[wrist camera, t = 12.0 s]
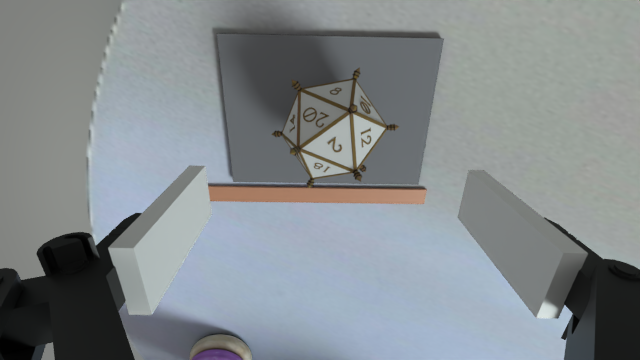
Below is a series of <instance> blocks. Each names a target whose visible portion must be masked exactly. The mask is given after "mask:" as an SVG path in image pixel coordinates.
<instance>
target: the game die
mask: <svg viewBox="0 0 640 360" xmlns="http://www.w3.org/2000/svg"><path fill="white" fill-rule="evenodd" d="M360 74H361V73H360V67H359V68H358V69H356V70H355V71H354V73H353V74H352V75H353V78H352V79H347V80H341V81H336V82H331V83H325V84H320V85H315V86H309V87H304V88H301V86H300V84H299V83H298V81H295V80H292V79H291V80H292V87H294V89H296V90H297V91H298V92H297V95H296V97H295V100H294V102H293V105H292V107H291V110H290V113H289V115H288V118H287V120H286V123H285V125H284V128H283V130H282V131H279V130H278V131H276V130H275V132H274V133H272V134H271V135H273V136H275V137H280V136H283V138H284V139H285V141H286V142H287V144H288V145H289V147H290V148H291V149H290V154H292V155H294V156H296V157H297V159H298V160H299V162H300V163H301V164H302V166H303V167H304V169H305V170H306V172H307V173H308V175H309V176H310V179H309V180H308V183H307V186H308V188H310V187H311V186H313V183H314V179H319V178H326V177H332V176H339V175H345V174H351V173H354V176H353V177H355V180H358V181H360V182H361V178H362V175H361V174H360V172H358V170H359V169H360V171H362V172H366V167H365V165H363V163H364V161H365V160H366V159H367V157H368V156H369V154H370V153H371V152H372V150H373V149H374V147H375V146H376V145H377V143H378V142H379V140H380V139H381V138H382V136H383V135H384V133H385V132H386V131H387V130H394V131H395V130H396V129H397V128H399V126H397V125H395V124H390V125H386V123H385V122H384V120H383V119H382V117H381V116H380V115H379V113H378V112H377V110H376V109H375V107H374V106H373V104H372V103H371V101H370V100H369V98H368V97H367V95H366V94H365V92H364V91H363V89H362V88H361V86H360V85H359V83H358V82H357V78H358V77H359V75H360Z"/></svg>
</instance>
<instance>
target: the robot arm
mask: <svg viewBox="0 0 640 360" xmlns="http://www.w3.org/2000/svg"><path fill="white" fill-rule="evenodd" d="M211 215H212V210H211V203H210V196H209V189H208V182H207V175H206V168H205V166H189V167H188V168H187V169H186V170H185V171H184V172H183V173H182V174H181V175H180V176H179V177H178V178H177V179H176V180H175V181H174V182H173V183H172V184H171V185H170V186H169V187H168V188H167V189H166V190H165V191H164V192H163V193H162V194H161V195H160V196H159V197H158V198H157V199H156V200H155V201H154V202H153V203H152V204H151V205H150V206H149V207H148V208H147V209H146V210H145V211H144V212H143V213H135V214H133V215H131V216H130V217H128V218H126V219H124V220H123V221H122V222H121V223H120V224H119V225H118V226H117V227H116V229H113V230H112V231H111V232H110V233H109V235H107V236H106V237H105V238H104V239H103V240H102V241H101V242H100V243H99V244H97V245H96V246H95V243H94V240H93V237H92V236H91V235H90V234H89V233H84V232H77V233H70V234H65V235H62V236H59V237H56V238H53V239H52V240H50V241H48V242H46V243H44V244H43V245H42V246H41V247H40V248H39V249H38V251H37V256H38V258H39V261H40V263H41V265H42V267H43V270H44V272H45V274H46V276H41V277H36V278H30V279H25V280H21V279H20V277H19V275H18V273H17V272H16V271H15V270H14V269H9V268H3V269H0V360H41V358H42V355H43V352H44V348H45V345H46V344H47V343H51V342H53V345H54V355H55V360H135V359H134V356H133V353H132V350H131V348H130V345H129V342H128V339H127V336H126V333H125V330H124V327H123V324H122V321H121V318H120V315H119V313H118V311H119V310H120V308H121V307H122V305H123V304H124V303H126V307H127V310H128V313H129V315H152V314H153V313H154V311H155V309H156V308H157V306H158V304H159V303H160V301H161V299H162V297H163V296H164V294H165V292H166V291H167V289H168V287H169V286H170V284H171V282H172V281H173V279H174V277H175V276H176V274H177V272H178V271H179V269H180V267H181V266H182V264H183V262H184V261H185V259H186V257H187V255H188V254H189V252H190V250H191V249H192V247H193V245H194V244H195V242H196V240H197V239H198V237H199V235H200V234H201V232H202V230H203V229H204V227H205V225H206V224H207V222H208V220H209V218H210V217H211ZM458 219H459V220H460V221H461V222H462V224H463V225H464V226H465V228H466V229H467V230H468V231H469V233H470V234H471V235H472V236H473V238H474V239H475V240H476V242H477V243H478V244H479V245H480V247H481V248H482V249H483V251H484V252H485V253H486V254H487V256H488V257H489V258H490V260H491V261H492V262H493V263H494V265H495V266H496V267H497V269H498V270H499V271H500V272H501V274H502V275H503V276H504V277H505V279H506V280H507V281H508V283H509V284H510V285H511V286H512V288H513V289H514V290H515V292H516V293H517V294H518V295H519V297H520V298H521V299H522V301H523V302H524V303H525V304H526V306H527V307H528V308H529V310H530V311H531V312H532V313H533V315H534V316H535V317H536V318H559V316H560V313H561V311H562V309H563V307H564V305H566V307H567V308H568V309H569V310H570V311H571V312H572V313H573V315H572V317H571V319H570V321H569V323H568V325H567V327H566V329H565V331H564V333H563V335H562V337H561V338H562V339H564V340H565V339H566V338H567V341H566V349H565V356H564V360H640V270H639V269H638V268H636V267H634V266H632V265H629V264H627V263H624V262H621V261H617V260H611V259H602V258H601V257H600V256H598V255H597V254H596V253H594V252H593V251H592V250H591V249H589V248H588V247H587V246H585V245H584V244H583V243H582V242H580V241H579V240H576V238H575V237H574V236H573V235H571V234H568V232H567V231H566V230H565V229H563V228H562V227H561V226H560V225H558V224H556V223H554V222H552V221H550V220H548V219H546V218H543V217H542V216H541V215H539V214H538V213H537V212H536V211H534V210H533V209H532V208H531V207H529V206H528V205H527V204H526V203H524V202H523V201H522V200H521V199H519V198H518V197H517V196H516V195H514V194H513V193H512V192H511V191H509V190H508V189H507V188H506V187H504V186H503V185H502V184H501V183H499V182H498V181H497V180H495V179H494V178H493V177H492V176H490V175H489V174H488V173H487V172H485V171H484V170H469V171H468V175H467V180H466V184H465V188H464V192H463V197H462V201H461V205H460V209H459V214H458Z"/></svg>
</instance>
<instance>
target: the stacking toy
mask: <svg viewBox="0 0 640 360" xmlns="http://www.w3.org/2000/svg"><path fill="white" fill-rule="evenodd" d="M190 360H252V354H251V351H250V349H249V348H248V346H247V345H246V344H245V343H244V342H243V341H241V340H240V339H238V338H236V337H233V336H230V335H224V334H217V335H210V336H207V337H204V338H202V339H201V340H199V341H198V342H197V343H196V344H195V345H194V346H193V348H192V350H191V352H190Z"/></svg>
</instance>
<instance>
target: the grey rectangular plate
mask: <svg viewBox="0 0 640 360" xmlns="http://www.w3.org/2000/svg"><path fill="white" fill-rule="evenodd" d="M217 40H218V49H219V58H220V67H221V76H222V85H223V94H224V103H225V112H226V121H227V129H228V138H229V147H230V156H231V165H232V174H233V182H282V183H308V180H309V179H310V176H309V175H308V173H307V172H306V170H305V169H304V167H303V166H302V164H301V163H300V162H299V160H298V159H297V157H296V156H294V155H292V154H290V149H291V148H290V147H289V145H288V144H287V142H286V141H285V139H284V138H283V136H280V137H275V136H273V135H271V134H272V133H274V132H275V130H276V131H278V130H279V131H282V130H283V128H284V125H285V123H286V120H287V118H288V115H289V113H290V110H291V107H292V105H293V102H294V100H295V97H296V95H297V92H298V91H297V90H296V89H294V87H292V80H295V81H298V83H299V84H300V86H301V88H304V87H309V86H315V85H320V84H325V83H331V82H336V81H341V80H347V79H352V78H353V75H352V74H353V73H354V71H355V70H356V69H358V68H359V67H360V73H361V74H360V75H359V77H358V78H357V82H358V83H359V85H360V86H361V88H362V89H363V91H364V92H365V94H366V95H367V97H368V98H369V100H370V101H371V103H372V104H373V106H374V107H375V109H376V110H377V112H378V113H379V115H380V116H381V117H382V119H383V120H384V122H385V123H386V125H390V124H395V125H397V126H399V128H397V129H396V130H395V131H394V130H387V131H386V132H385V133H384V135H383V136H382V138H381V139H380V140H379V142H378V143H377V145H376V146H375V147H374V149H373V150H372V152H371V153H370V154H369V156H368V157H367V159H366V160H365V161H364V163H363V165H365V167H366V172H362V171H360V169H359V170H358V172H360V174H361V175H362V178H361V182H360V181H358V180H355V177H353V176H354V173H351V174H345V175H339V176H332V177H326V178H319V179H314V183H351V184H418V183H419V178H420V172H421V166H422V160H423V155H424V149H425V143H426V138H427V132H428V126H429V120H430V115H431V109H432V103H433V98H434V92H435V86H436V80H437V75H438V69H439V63H440V58H441V52H442V46H443V40H444V39H442V38H399V37H354V36H309V35H263V34H217ZM291 79H292V80H291Z"/></svg>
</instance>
